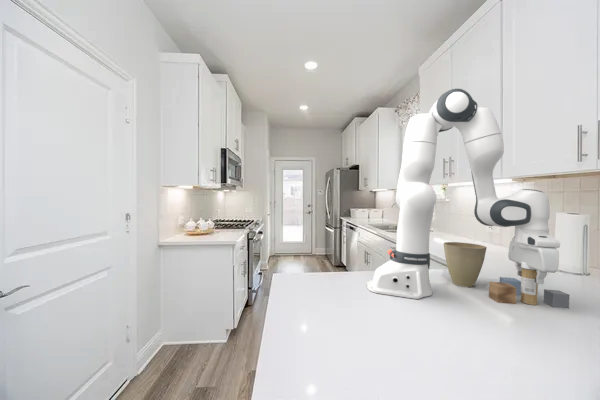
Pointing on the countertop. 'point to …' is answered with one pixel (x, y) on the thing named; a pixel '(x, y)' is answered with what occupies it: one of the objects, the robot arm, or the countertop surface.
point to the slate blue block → (512, 283)
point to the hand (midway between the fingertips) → (529, 279)
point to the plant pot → (464, 262)
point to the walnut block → (502, 292)
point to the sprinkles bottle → (528, 285)
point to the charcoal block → (556, 298)
